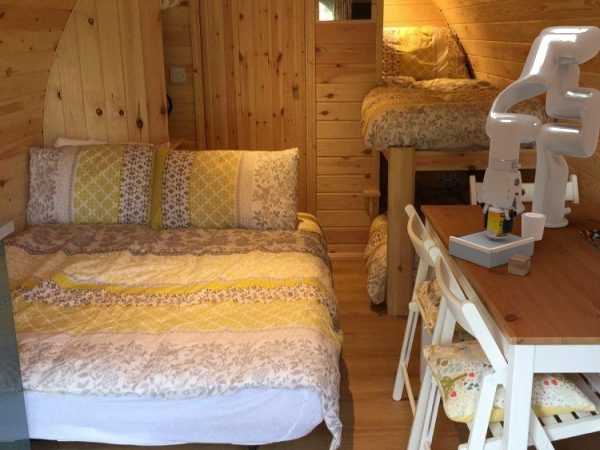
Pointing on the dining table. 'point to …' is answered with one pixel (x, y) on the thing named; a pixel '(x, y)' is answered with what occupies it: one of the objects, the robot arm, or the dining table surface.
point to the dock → (489, 248)
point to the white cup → (533, 225)
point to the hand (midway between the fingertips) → (497, 229)
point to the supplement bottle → (496, 222)
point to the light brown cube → (519, 265)
